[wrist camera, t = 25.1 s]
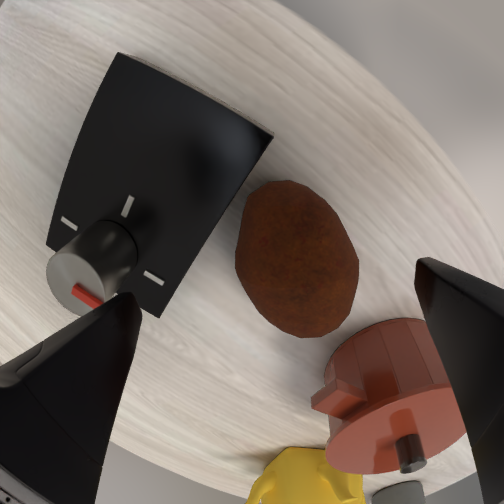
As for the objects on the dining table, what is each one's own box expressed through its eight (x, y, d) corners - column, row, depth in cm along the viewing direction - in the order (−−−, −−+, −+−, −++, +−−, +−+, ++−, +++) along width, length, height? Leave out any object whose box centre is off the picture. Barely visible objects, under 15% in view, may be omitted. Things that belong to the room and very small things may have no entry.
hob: (135, 56, 15) (116, 51, 13) (274, 133, 17) (274, 137, 15) (60, 242, 22) (41, 257, 19) (163, 308, 23) (152, 329, 21)
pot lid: (423, 350, 15) (443, 399, 12) (497, 397, 17) (512, 429, 14) (290, 448, 20) (289, 488, 17) (390, 470, 22) (395, 501, 19)
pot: (366, 277, 21) (396, 350, 14) (474, 356, 24) (503, 411, 17) (273, 371, 26) (269, 444, 19) (395, 420, 28) (407, 475, 22)
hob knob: (78, 256, 19) (38, 294, 15) (94, 208, 17) (49, 240, 13) (125, 287, 20) (93, 332, 15) (147, 241, 18) (111, 284, 14)
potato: (349, 167, 18) (382, 198, 12) (346, 298, 22) (364, 362, 16) (233, 174, 18) (212, 207, 13) (249, 303, 23) (239, 369, 17)
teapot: (372, 468, 34) (379, 524, 26) (282, 487, 38) (279, 539, 29) (349, 427, 29) (358, 503, 20) (236, 451, 33) (227, 518, 24)
